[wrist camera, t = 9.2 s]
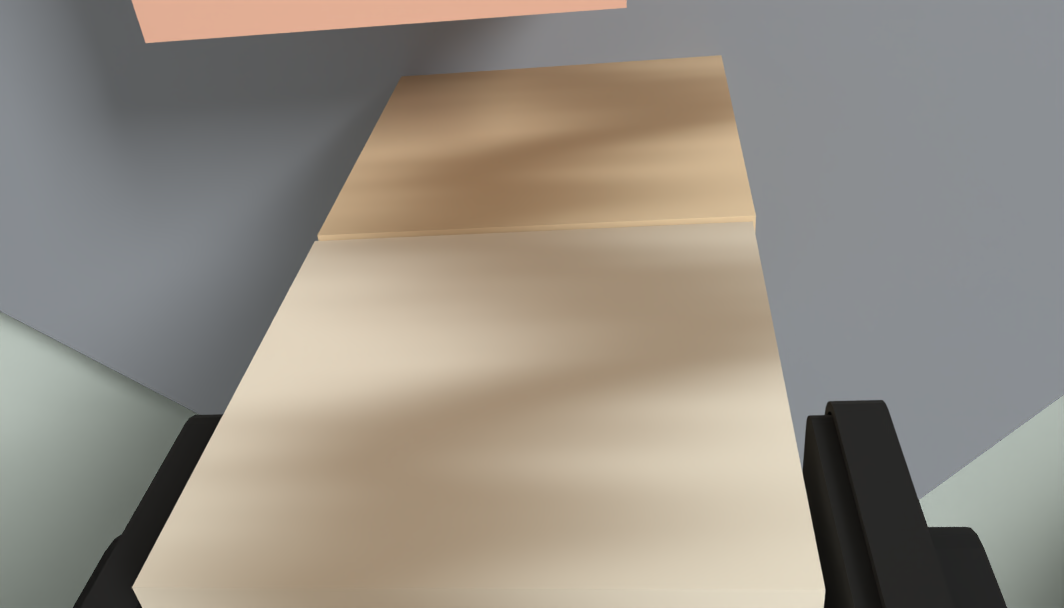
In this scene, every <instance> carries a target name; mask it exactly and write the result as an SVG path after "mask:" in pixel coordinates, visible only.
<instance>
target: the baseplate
mask: <svg viewBox="0 0 1064 608" xmlns="http://www.w3.org/2000/svg"><path fill="white" fill-rule="evenodd" d="M718 55H721V56H722V61H723V65H724V70H725V74H726V79H727V84H728V88H729V93H730V98H731V102H732V107H733V112H734V116H735V121H736V125H737V130H738V135H739V139H740V144H741V149H742V153H743V158H744V163H745V167H746V172H747V176H748V181H749V186H750V190H751V195H752V200H753V204H754V209H755V214H756V228H755V235H756V240H757V245H758V250H759V256H760V261H761V266H762V271H763V276H764V281H765V286H766V291H767V296H768V301H769V306H770V311H771V316H772V321H773V327H774V332H775V337H776V342H777V347H778V352H779V357H780V362H781V367H782V372H783V377H784V382H785V387H786V392H787V398H788V403H789V408H790V413H791V418H792V423H793V428H794V433H795V438H796V443H797V448H798V453H799V458H800V463H801V469H802V471H803V458H804V444H805V431H806V421H807V417H808V416H809V415H825V408H826V405H827V402H829V401H856V400H883V401H884V402H885V403H886V405H887V407H888V410H889V413H890V416H891V419H892V422H893V425H894V428H895V431H896V434H897V437H898V440H899V443H900V446H901V449H902V452H903V455H904V458H905V461H906V464H907V467H908V470H909V473H910V476H911V479H912V482H913V485H914V488H915V491H916V494H917V497H918V500H919V499H921V498H922V497H923V496H925V495H926V494H927V493H929V492H930V491H932V490H933V489H934V488H936V487H937V486H938V485H940V484H941V483H943V482H944V481H945V480H947V479H948V478H950V477H951V476H952V475H954V474H955V473H956V472H958V471H959V470H961V469H962V468H963V467H965V466H966V465H967V464H969V463H970V462H972V461H973V460H974V459H976V458H977V457H978V456H980V455H981V454H983V453H984V452H985V451H987V450H988V449H990V448H991V447H992V446H994V445H995V444H996V443H998V442H999V441H1001V440H1002V439H1003V438H1005V437H1006V436H1007V435H1009V434H1010V433H1012V432H1013V431H1014V430H1016V429H1017V428H1019V427H1020V426H1021V425H1023V424H1024V423H1025V422H1027V421H1028V420H1030V419H1031V418H1032V417H1034V416H1035V415H1036V414H1038V413H1039V412H1041V411H1042V410H1043V409H1045V408H1046V407H1047V406H1049V405H1050V404H1052V403H1053V402H1054V401H1056V400H1057V399H1059V398H1060V397H1061V396H1063V395H1064V0H627V8H617V9H603V10H590V11H576V12H563V13H549V14H535V15H522V16H508V17H494V18H481V19H467V20H453V21H440V22H426V23H413V24H399V25H385V26H372V27H358V28H344V29H331V30H317V31H304V32H290V33H276V34H263V35H249V36H235V37H222V38H208V39H195V40H181V41H167V42H154V43H145V40H144V37H143V34H142V30H141V27H140V24H139V21H138V18H137V15H136V12H135V9H134V6H133V3H132V0H0V311H1V312H3V313H5V314H7V315H8V316H10V317H12V318H14V319H16V320H18V321H20V322H22V323H24V324H26V325H28V326H30V327H32V328H33V329H35V330H37V331H39V332H41V333H43V334H45V335H47V336H49V337H51V338H53V339H55V340H57V341H58V342H60V343H62V344H64V345H66V346H68V347H70V348H72V349H74V350H76V351H78V352H80V353H82V354H84V355H85V356H87V357H89V358H91V359H93V360H95V361H97V362H99V363H101V364H103V365H105V366H107V367H109V368H110V369H112V370H114V371H116V372H118V373H120V374H122V375H124V376H126V377H128V378H130V379H132V380H134V381H136V382H137V383H139V384H141V385H143V386H145V387H147V388H149V389H151V390H153V391H155V392H157V393H159V394H161V395H162V396H164V397H166V398H168V399H170V400H172V401H174V402H176V403H178V404H180V405H182V406H184V407H186V408H187V409H189V410H191V411H193V412H195V413H197V414H199V415H214V414H224V412H225V410H226V408H227V406H228V405H229V403H230V401H231V399H232V397H233V395H234V393H235V391H236V389H237V388H238V386H239V384H240V382H241V380H242V378H243V376H244V374H245V372H246V370H247V369H248V367H249V365H250V363H251V361H252V359H253V357H254V355H255V353H256V352H257V350H258V348H259V346H260V344H261V342H262V340H263V338H264V336H265V334H266V333H267V331H268V329H269V327H270V325H271V323H272V321H273V319H274V317H275V316H276V314H277V312H278V310H279V308H280V306H281V304H282V302H283V300H284V299H285V297H286V295H287V293H288V291H289V289H290V287H291V285H292V283H293V281H294V280H295V278H296V276H297V274H298V272H299V270H300V268H301V266H302V264H303V263H304V261H305V259H306V257H307V255H308V253H309V251H310V249H311V247H312V245H313V244H314V242H315V241H319V240H318V236H317V235H318V233H319V231H320V229H321V228H322V226H323V224H324V222H325V220H326V218H327V216H328V214H329V212H330V210H331V209H332V207H333V205H334V203H335V201H336V199H337V197H338V195H339V193H340V192H341V190H342V188H343V186H344V184H345V182H346V180H347V178H348V176H349V175H350V173H351V171H352V169H353V167H354V165H355V163H356V161H357V159H358V158H359V156H360V154H361V152H362V150H363V148H364V146H365V144H366V142H367V140H368V139H369V137H370V135H371V133H372V131H373V129H374V127H375V125H376V123H377V122H378V120H379V118H380V116H381V114H382V112H383V110H384V108H385V106H386V105H387V103H388V101H389V99H390V97H391V95H392V93H393V91H394V89H395V87H396V86H397V84H398V82H399V80H400V78H401V76H417V75H432V74H447V73H462V72H477V71H492V70H507V69H522V68H537V67H552V66H567V65H582V64H597V63H612V62H627V61H642V60H657V59H673V58H688V57H703V56H718Z"/></svg>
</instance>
